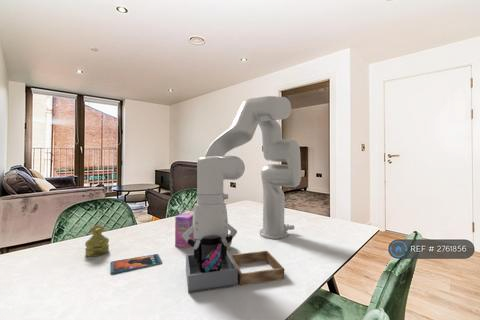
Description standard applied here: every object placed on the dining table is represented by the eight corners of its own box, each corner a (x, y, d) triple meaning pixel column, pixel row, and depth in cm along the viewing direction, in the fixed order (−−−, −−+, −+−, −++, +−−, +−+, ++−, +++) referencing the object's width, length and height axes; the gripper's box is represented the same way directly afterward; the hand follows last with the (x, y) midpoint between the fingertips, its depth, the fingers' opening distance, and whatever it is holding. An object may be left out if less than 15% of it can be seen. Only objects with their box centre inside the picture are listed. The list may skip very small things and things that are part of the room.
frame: (267, 259, 81) (267, 250, 81) (284, 278, 68) (284, 268, 68) (229, 263, 77) (229, 254, 77) (240, 285, 65) (240, 274, 65)
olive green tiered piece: (113, 250, 88) (113, 223, 88) (95, 258, 81) (95, 229, 81) (98, 247, 90) (98, 221, 90) (80, 255, 83) (79, 227, 83)
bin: (227, 264, 77) (227, 250, 77) (237, 285, 65) (237, 269, 64) (185, 269, 74) (185, 254, 74) (188, 293, 61) (188, 275, 61)
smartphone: (162, 262, 77) (110, 272, 70) (162, 266, 77) (110, 276, 70) (158, 252, 84) (110, 260, 77) (158, 256, 84) (110, 264, 77)
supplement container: (196, 275, 66) (196, 238, 66) (201, 264, 73) (201, 230, 73) (219, 276, 66) (220, 239, 65) (223, 265, 72) (223, 231, 72)
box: (188, 248, 91) (188, 217, 90) (174, 246, 92) (174, 216, 91) (198, 238, 101) (198, 211, 100) (186, 237, 102) (186, 210, 102)
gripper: (236, 195, 75) (235, 251, 75) (179, 198, 70) (179, 257, 70) (242, 200, 67) (242, 261, 68) (179, 203, 63) (180, 269, 63)
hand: (210, 259), depth 69 cm, fingers closed on supplement container, 6 cm apart
